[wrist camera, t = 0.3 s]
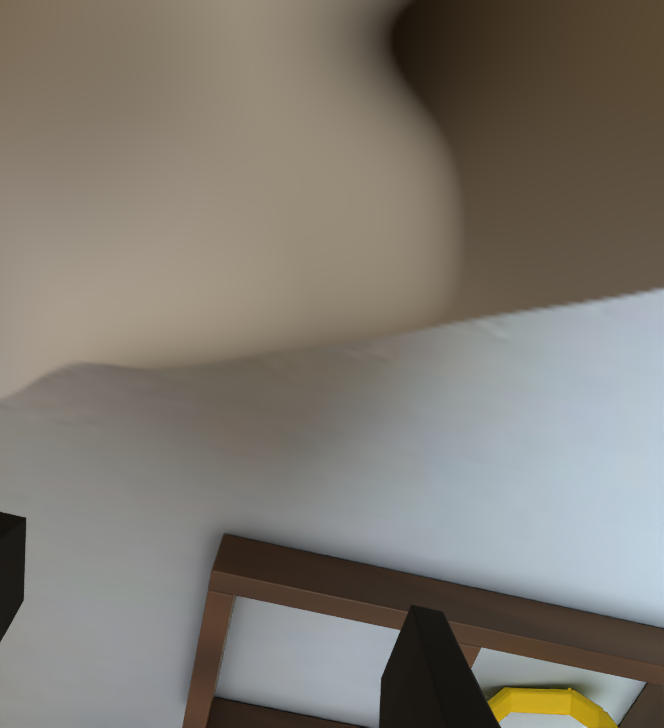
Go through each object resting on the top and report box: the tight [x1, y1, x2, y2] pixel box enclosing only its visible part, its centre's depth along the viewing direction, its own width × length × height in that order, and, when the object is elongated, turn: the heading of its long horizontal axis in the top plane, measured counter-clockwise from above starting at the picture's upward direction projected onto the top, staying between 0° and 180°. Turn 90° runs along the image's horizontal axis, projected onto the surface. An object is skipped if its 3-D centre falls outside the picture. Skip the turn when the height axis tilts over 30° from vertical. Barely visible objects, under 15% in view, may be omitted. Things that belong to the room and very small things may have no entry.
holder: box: [182, 534, 664, 728], centre depth 24 cm, size 11×20×2 cm, turn 77°
